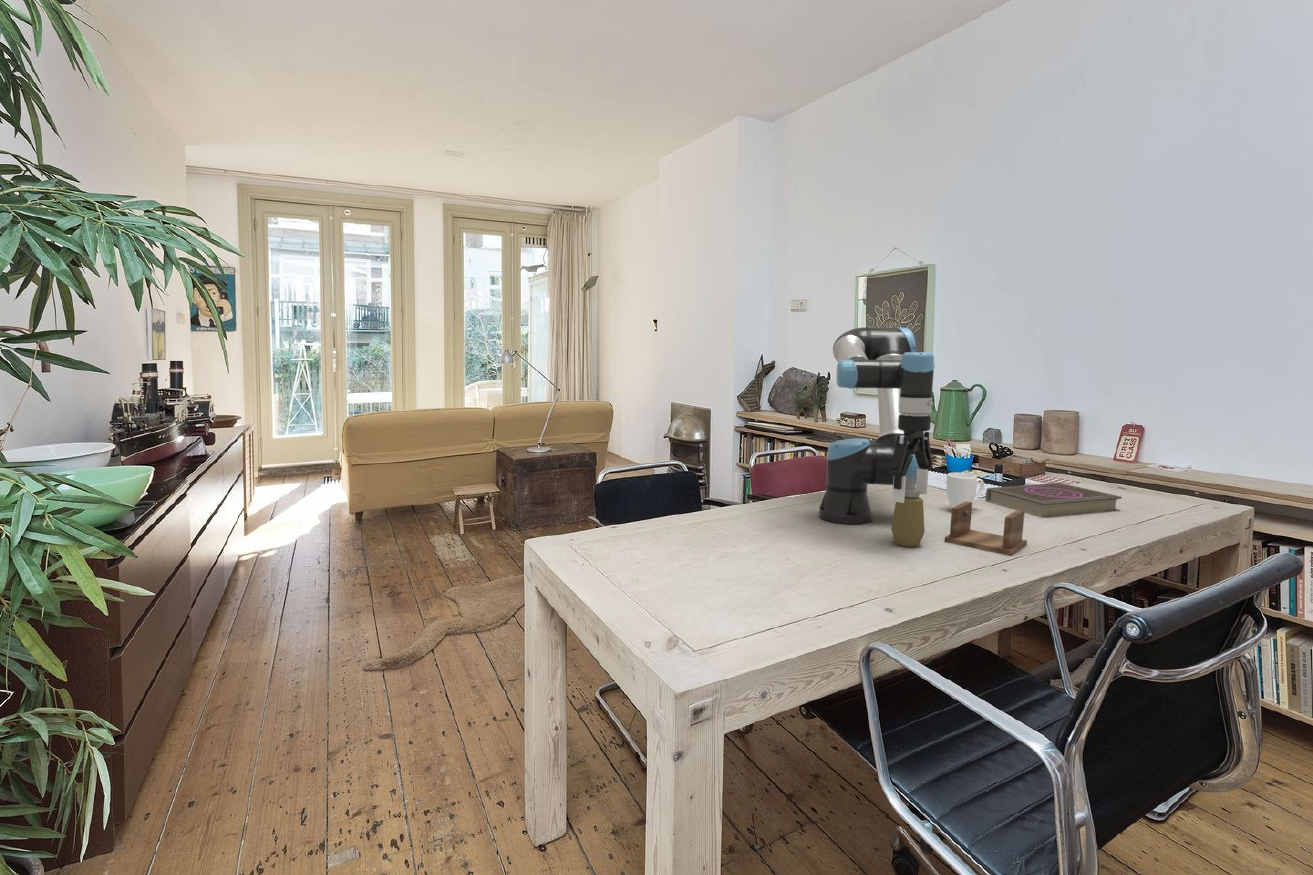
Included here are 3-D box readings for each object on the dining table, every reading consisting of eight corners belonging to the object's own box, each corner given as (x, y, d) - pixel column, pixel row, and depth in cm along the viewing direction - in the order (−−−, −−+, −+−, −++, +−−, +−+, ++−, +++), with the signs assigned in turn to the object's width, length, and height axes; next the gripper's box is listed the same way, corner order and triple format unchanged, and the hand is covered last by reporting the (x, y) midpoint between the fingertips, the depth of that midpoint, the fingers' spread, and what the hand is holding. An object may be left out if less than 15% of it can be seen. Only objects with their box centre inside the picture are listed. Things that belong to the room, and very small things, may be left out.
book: (1043, 519, 189) (1044, 503, 189) (984, 502, 210) (985, 487, 210) (1120, 512, 198) (1121, 496, 197) (1056, 496, 219) (1057, 482, 218)
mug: (957, 515, 192) (959, 478, 190) (939, 508, 200) (941, 472, 198) (991, 513, 195) (993, 476, 193) (971, 506, 203) (974, 471, 201)
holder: (944, 541, 166) (946, 507, 165) (961, 532, 174) (963, 500, 173) (1011, 555, 155) (1014, 519, 153) (1026, 545, 163) (1029, 510, 162)
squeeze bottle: (927, 549, 159) (931, 479, 156) (892, 547, 161) (896, 477, 158) (920, 540, 167) (924, 472, 164) (888, 538, 168) (891, 471, 166)
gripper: (908, 418, 148) (903, 508, 150) (949, 412, 165) (944, 492, 168) (877, 416, 153) (873, 502, 156) (920, 410, 170) (916, 488, 173)
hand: (909, 497), depth 162 cm, fingers open, 13 cm apart
